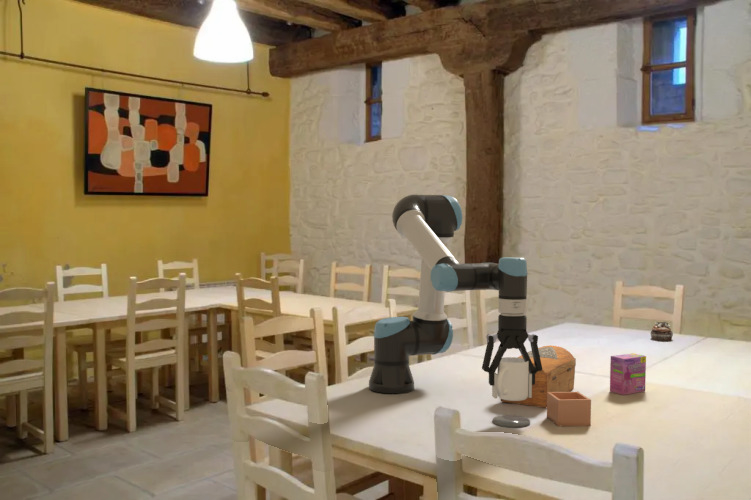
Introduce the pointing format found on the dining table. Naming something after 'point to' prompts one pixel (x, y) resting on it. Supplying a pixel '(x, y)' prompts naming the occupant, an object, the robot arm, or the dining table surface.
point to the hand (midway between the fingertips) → (511, 396)
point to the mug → (513, 379)
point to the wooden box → (550, 375)
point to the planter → (569, 408)
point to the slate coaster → (511, 421)
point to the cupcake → (661, 332)
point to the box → (627, 373)
